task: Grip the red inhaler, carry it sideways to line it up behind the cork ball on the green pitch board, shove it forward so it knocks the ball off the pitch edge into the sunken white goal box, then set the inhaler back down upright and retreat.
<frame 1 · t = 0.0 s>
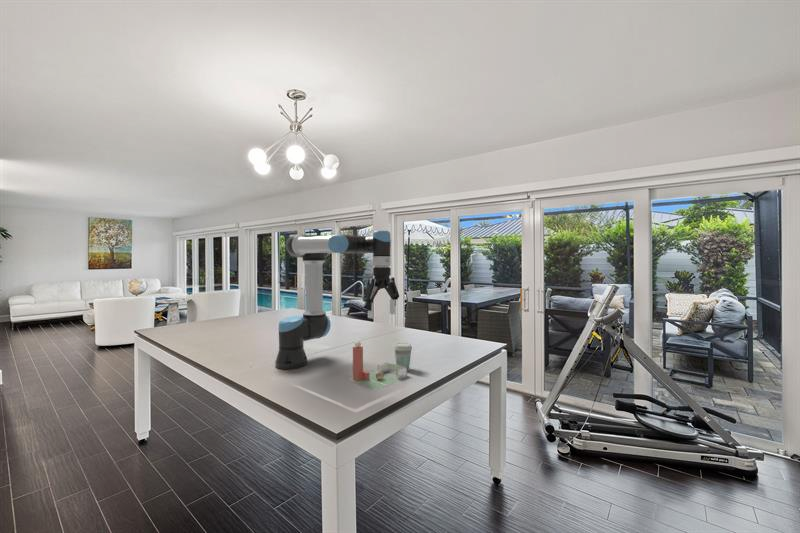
hand: (381, 316, 150), 28 cm above the table, fingers open, 13 cm apart
ball: (379, 375, 148), point 3 cm above the table, touching pitch
goal: (392, 377, 155), on the table
coffee cup: (402, 370, 165), on the table
pitch: (373, 382, 148), on the table
red inhaler: (358, 379, 148), point 1 cm above the table, touching pitch
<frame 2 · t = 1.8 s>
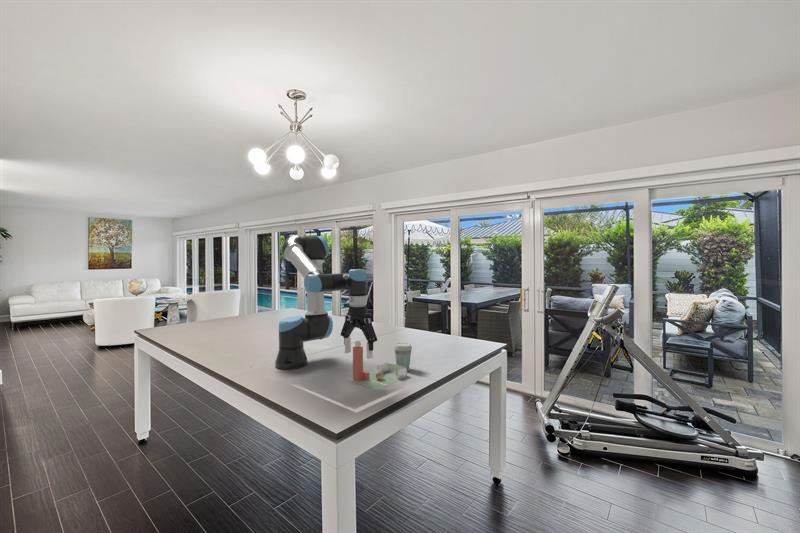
hand: (358, 355, 148), 12 cm above the table, fingers open, 13 cm apart
nothing on the table moved.
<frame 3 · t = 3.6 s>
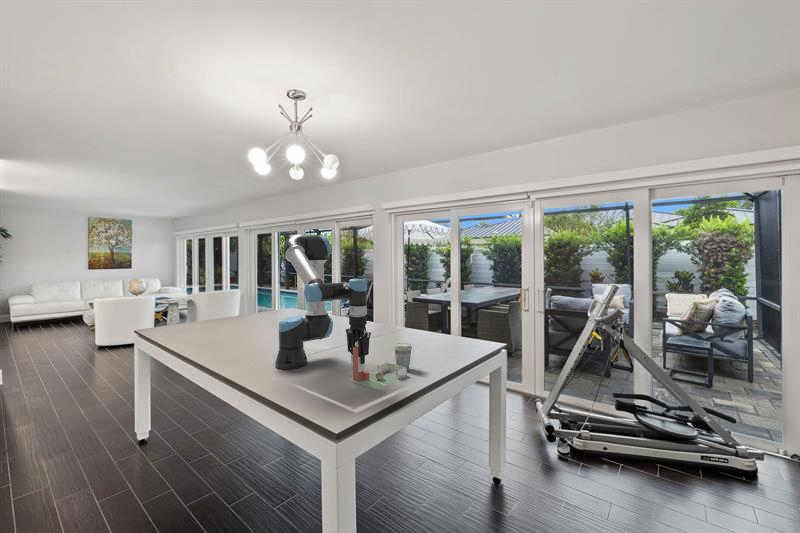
hand: (358, 370, 148), 5 cm above the table, fingers closed on red inhaler, 3 cm apart
red inhaler: (358, 379, 148), point 1 cm above the table, touching gripper, pitch
everything else where it was.
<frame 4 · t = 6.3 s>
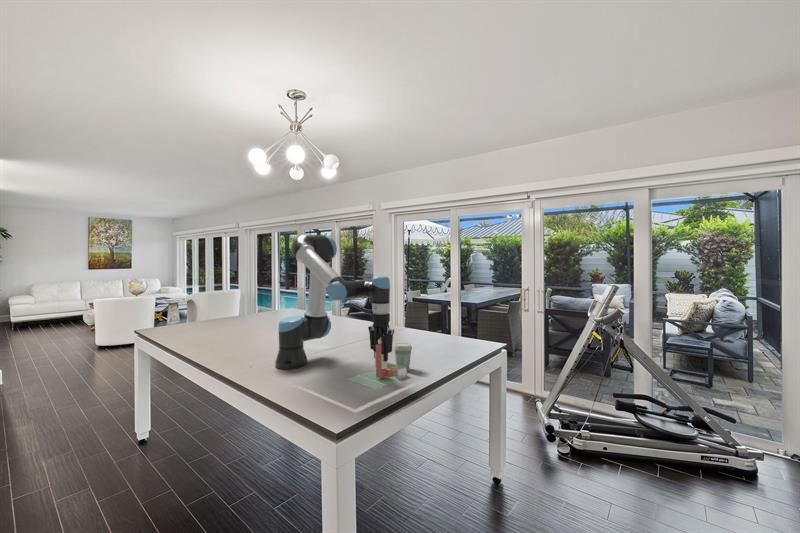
hand: (381, 367, 149), 6 cm above the table, fingers closed on red inhaler, 3 cm apart
ball: (393, 373, 155), point 2 cm above the table, tilted 70°
red inhaler: (381, 376, 149), point 2 cm above the table, touching gripper
everything else where it was.
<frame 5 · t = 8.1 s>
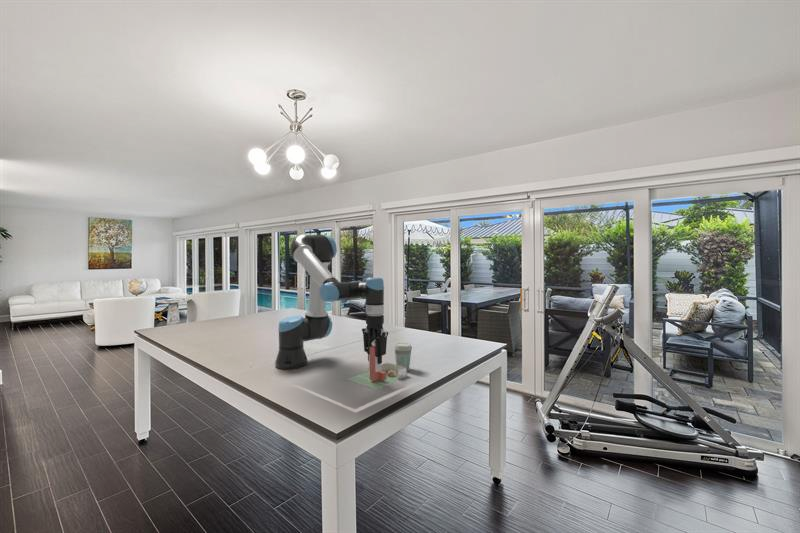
hand: (374, 370, 146), 6 cm above the table, fingers closed on red inhaler, 3 cm apart
ball: (391, 374, 154), point 2 cm above the table, tilted 116°
red inhaler: (374, 379, 146), point 2 cm above the table, touching gripper
everything else where it was.
when the fingers open (5 cm above the table, at t = 8.8 s): red inhaler stays where it is, resting on pitch.
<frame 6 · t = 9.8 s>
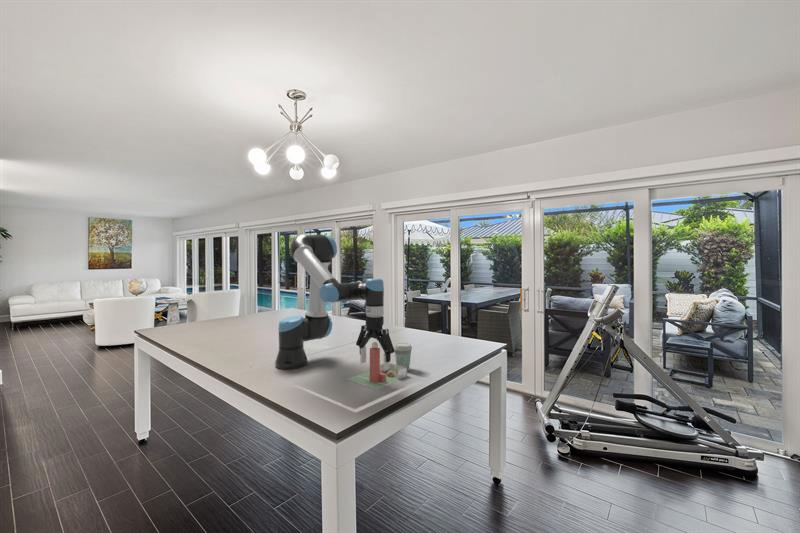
hand: (374, 366, 146), 8 cm above the table, fingers open, 13 cm apart
ball: (390, 374, 153), point 2 cm above the table, tilted 124°
red inhaler: (374, 381, 146), point 1 cm above the table, touching pitch
everything else where it was.
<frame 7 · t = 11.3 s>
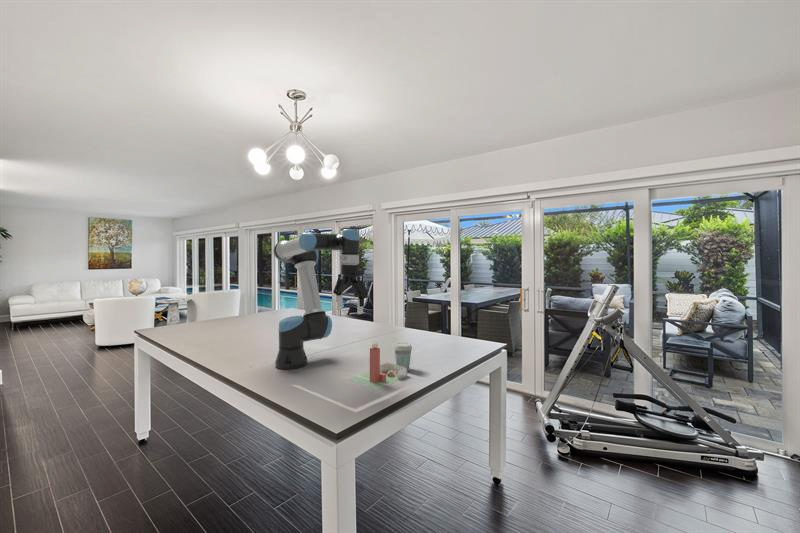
hand: (349, 311, 156), 29 cm above the table, fingers open, 13 cm apart
nothing on the table moved.
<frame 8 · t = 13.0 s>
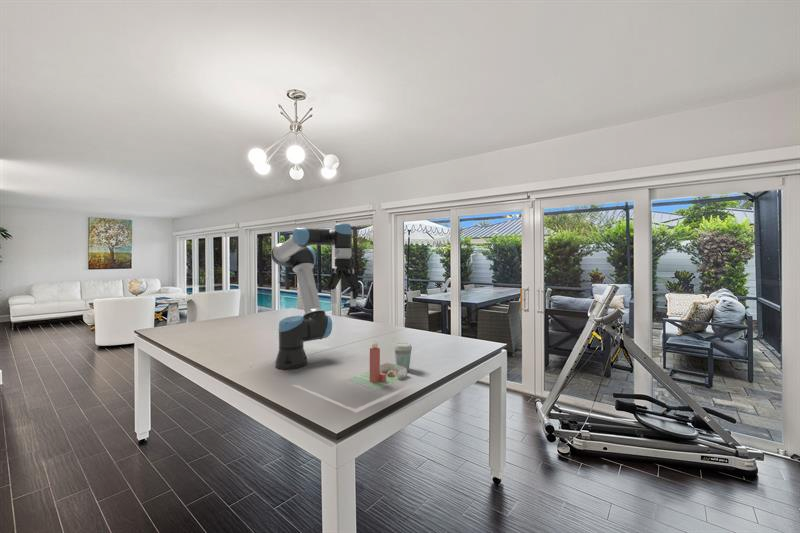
hand: (343, 304, 158), 32 cm above the table, fingers open, 13 cm apart
nothing on the table moved.
at the end: ball inside the target area on the goal (1.2 cm from its centre), point 1.7 cm above the goal's base; red inhaler tilted 1°; the gripper is holding nothing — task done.
